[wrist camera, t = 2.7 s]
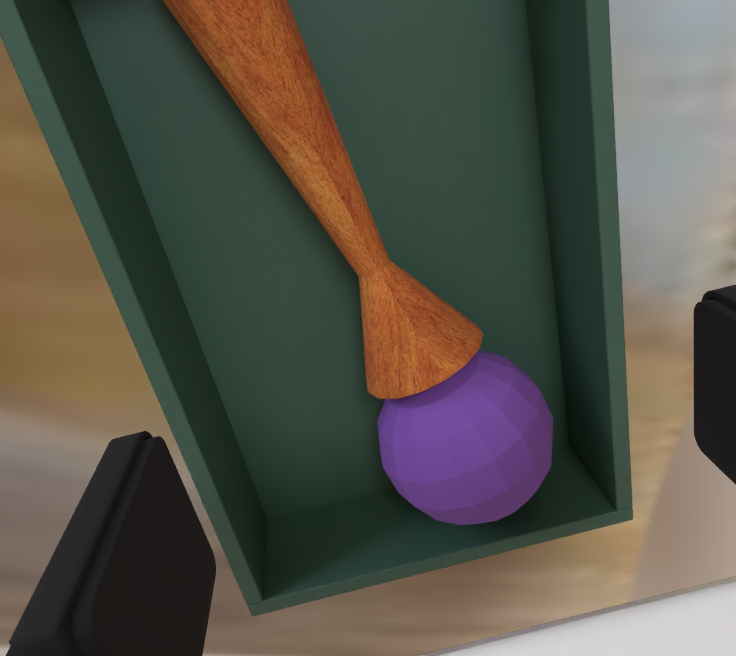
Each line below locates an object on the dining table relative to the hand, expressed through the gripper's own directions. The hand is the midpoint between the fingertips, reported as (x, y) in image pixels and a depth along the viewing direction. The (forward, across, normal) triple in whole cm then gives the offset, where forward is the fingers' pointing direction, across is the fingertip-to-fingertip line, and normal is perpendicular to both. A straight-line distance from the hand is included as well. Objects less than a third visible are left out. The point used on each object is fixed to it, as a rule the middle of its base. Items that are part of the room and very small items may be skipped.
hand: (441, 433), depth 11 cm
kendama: (+12, 0, 0) cm, 12 cm away
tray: (+12, 0, 0) cm, 12 cm away
